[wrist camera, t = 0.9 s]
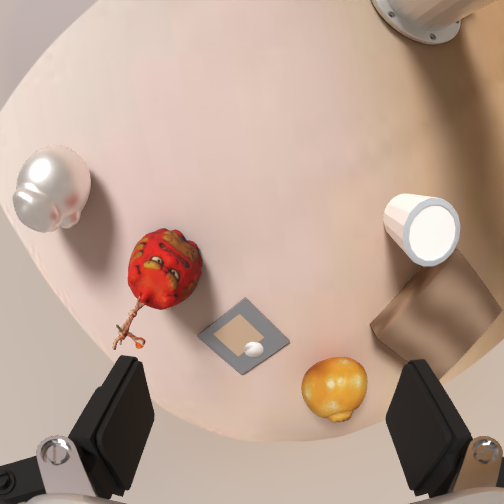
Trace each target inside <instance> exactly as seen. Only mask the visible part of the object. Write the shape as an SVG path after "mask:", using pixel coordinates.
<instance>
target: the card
mask: <svg viewBox="0 0 504 504" xmlns="http://www.w3.org/2000/svg"><path fill="white" fill-rule="evenodd" d="M198 337H199V338H200V339H201V340H202V341H203V342H204V343H205V344H207V345H208V346H209V347H210V348H211V349H212V350H213V351H214V352H216V353H217V354H218V355H219V356H220V357H221V358H222V359H224V360H225V361H226V362H227V363H228V364H229V365H231V366H232V367H233V368H234V369H235V370H237V371H238V372H239V373H240V374H241V375H242V374H244V373H245V372H247V371H248V370H250V369H251V368H253V367H254V366H256V365H257V364H259V363H260V362H262V361H263V360H265V359H266V358H268V357H269V356H271V355H272V354H273V353H275V352H276V351H278V350H279V349H281V348H282V347H283V346H285V345H286V344H288V343H289V342H290V341H289V340H288V339H287V338H286V337H285V336H284V335H283V334H282V333H281V332H280V331H279V330H278V329H277V328H276V327H275V326H274V325H273V324H272V323H271V322H270V321H269V320H268V319H267V318H266V317H265V316H264V315H263V314H262V313H261V312H260V311H259V310H258V309H257V308H256V307H255V306H254V305H253V304H252V303H251V302H250V301H249V300H248V299H247V298H246V297H245V298H244V299H243V300H241V301H240V302H239V303H238V304H236V305H235V306H234V307H233V308H231V309H230V310H229V311H228V312H226V313H225V314H224V315H223V316H221V317H220V318H219V319H217V320H216V321H215V322H214V323H212V324H211V325H210V326H209V327H207V328H206V329H205V330H203V331H202V332H201V333H200V334H198Z"/></svg>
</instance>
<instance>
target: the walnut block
mask: <svg viewBox="0 0 504 504" xmlns="http://www.w3.org/2000/svg"><path fill="white" fill-rule="evenodd" d="M501 311H502V309H501V308H500V306H499V305H498V303H497V302H496V300H495V299H494V297H493V296H492V294H491V293H490V291H489V290H488V289H487V287H486V286H485V284H484V283H483V282H482V280H481V279H480V278H479V276H478V275H477V273H476V272H475V271H474V269H473V268H472V267H471V265H470V264H469V263H468V262H467V260H466V259H465V258H464V256H463V255H462V254H461V253H460V251H459V250H458V249H457V248H455V249H454V251H453V252H452V254H451V255H450V256H449V257H448V258H447V259H446V260H445V261H443V262H441V263H439V264H437V265H435V266H424V267H423V266H422V267H421V268H420V270H419V271H418V272H417V273H416V274H415V275H414V277H413V278H412V279H411V280H410V281H409V282H408V283H407V285H406V286H405V287H404V288H403V289H402V290H401V291H400V292H399V294H398V295H397V296H396V297H395V298H394V299H393V300H392V301H391V302H390V303H389V304H388V306H387V307H386V308H385V309H384V310H383V311H382V312H381V313H380V314H379V315H378V316H377V317H376V318H375V319H374V320H373V321H372V322H371V323H370V325H371V327H372V329H373V331H374V333H375V334H376V336H377V338H378V339H379V340H380V341H381V342H383V343H384V344H385V345H386V346H388V347H389V348H390V349H392V350H393V351H394V352H395V353H397V354H398V355H399V356H401V357H402V358H403V359H404V360H406V361H407V362H409V361H410V360H417V359H425V360H426V361H427V363H428V364H429V366H430V368H431V369H432V371H433V372H434V374H435V375H436V377H437V378H438V380H439V379H440V378H441V377H442V376H443V375H444V374H445V373H446V372H447V371H449V370H450V369H451V368H452V367H453V366H454V364H455V363H456V362H457V361H458V360H459V359H460V358H461V357H462V356H463V355H464V354H465V353H466V352H467V351H468V350H469V349H470V348H471V347H472V345H473V344H474V343H475V342H476V341H477V340H478V339H479V338H480V337H481V335H482V334H483V333H484V332H485V331H486V330H487V328H488V327H489V326H490V325H491V324H492V322H493V321H494V320H495V319H496V318H497V316H498V315H499V314H500V313H501Z"/></svg>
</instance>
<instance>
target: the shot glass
mask: <svg viewBox="0 0 504 504" xmlns="http://www.w3.org/2000/svg"><path fill="white" fill-rule="evenodd" d="M383 223H384V226H385V229H386V232H387V233H388V234H389V235H390V236H391V238H392V239H393V240H394V241H395V242H396V243H397V244H398V245H399V246H400V247H401V249H402V250H403V251H404V252H405V253H406V254H407V255H408V256H409V258H410V259H411V260H412V261H413V262H415V263H417V264H419V265H421V266H423V267H424V266H435V265H437V264H439V263H441V262H443V261H445V260H446V259H447V258H448V257H449V256H450V255H451V254H452V252H453V251H454V249H455V247H456V245H457V242H458V240H459V234H460V222H459V217H458V214H457V212H456V211H455V209H454V208H453V206H452V204H450V203H448V202H447V201H445V200H444V199H442V198H435V197H428V196H421V195H414V194H400V195H398V196H396V197H394V198H393V199H392V200H391V201H390V202H389V203H388V204H387V207H386V209H385V211H384V219H383Z"/></svg>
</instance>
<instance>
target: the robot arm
mask: <svg viewBox="0 0 504 504" xmlns="http://www.w3.org/2000/svg"><path fill="white" fill-rule="evenodd" d="M495 1H497V0H372V2H373V5H374V6H375V8H376V9H377V11H378V12H379V14H380V15H381V16H382V17H383V18H384V19H385V21H386V22H387V23H388V24H390V25H391V26H392V27H393V28H394V29H395V30H397V31H398V32H400V33H401V34H403V35H404V36H406V37H408V38H410V39H412V40H415V41H417V42H420V43H424V44H429V45H438V44H442V43H445V42H447V41H449V40H451V39H452V38H454V37H455V36H456V34H457V33H458V31H459V29H460V26H461V19H462V18H464V17H466V16H468V15H470V14H471V13H473V12H475V11H477V10H479V9H481V8H483V7H485V6H487V5H489V4H491V3H493V2H495ZM153 422H154V410H153V406H152V402H151V398H150V394H149V390H148V386H147V382H146V377H145V373H144V368H143V364H142V362H140V361H138V359H137V358H136V357H132V356H124V355H121V356H120V357H119V358H118V360H117V361H116V363H115V365H114V366H113V368H112V370H111V371H110V373H109V374H108V376H107V378H106V380H105V381H104V383H103V384H102V386H101V387H98V388H97V389H96V390H95V392H94V394H93V395H92V397H91V399H90V400H89V402H88V404H87V405H86V407H85V409H84V410H83V412H82V414H81V416H80V417H79V419H78V421H77V422H76V424H75V426H74V428H73V429H72V431H71V433H70V434H69V436H68V438H67V437H64V436H58V435H57V436H51V437H48V438H46V439H44V440H43V441H42V442H41V443H40V444H39V445H38V448H37V451H36V454H37V455H36V456H34V457H31V458H27V459H24V460H20V461H17V462H14V463H10V464H6V465H3V466H0V504H125V503H121V502H117V501H112V500H109V499H110V498H111V496H112V494H115V495H118V496H122V497H123V494H124V492H125V490H129V489H130V487H131V484H132V482H133V478H134V475H135V473H136V470H137V467H138V464H139V461H140V458H141V455H142V453H143V450H144V447H145V444H146V441H147V438H148V436H149V433H150V430H151V427H152V425H153ZM386 424H387V426H388V429H389V432H390V435H391V437H392V440H393V443H394V446H395V448H396V451H397V454H398V457H399V460H400V463H401V466H402V468H403V471H404V474H405V477H406V480H407V483H408V486H409V488H410V490H414V493H415V496H420V495H423V494H427V493H428V495H429V498H430V499H426V500H423V501H418V502H414V503H410V504H504V457H502V455H503V451H502V448H501V446H500V444H499V443H498V442H497V441H496V440H495V439H493V438H491V437H486V436H480V437H477V438H474V439H473V438H472V436H471V433H470V432H469V430H468V428H467V426H466V425H465V423H464V421H463V419H462V418H461V416H460V414H459V413H458V411H457V409H456V408H455V406H454V405H453V403H452V401H451V399H450V398H449V396H448V394H447V393H446V392H445V390H444V388H443V386H442V385H441V383H440V382H439V380H438V378H437V377H436V375H435V374H434V372H433V371H432V369H431V368H430V366H429V364H428V363H427V361H426V360H425V359H417V360H410V361H409V362H408V364H406V365H404V367H403V370H402V373H401V376H400V379H399V382H398V384H397V387H396V390H395V393H394V396H393V398H392V401H391V404H390V406H389V409H388V412H387V414H386Z"/></svg>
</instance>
